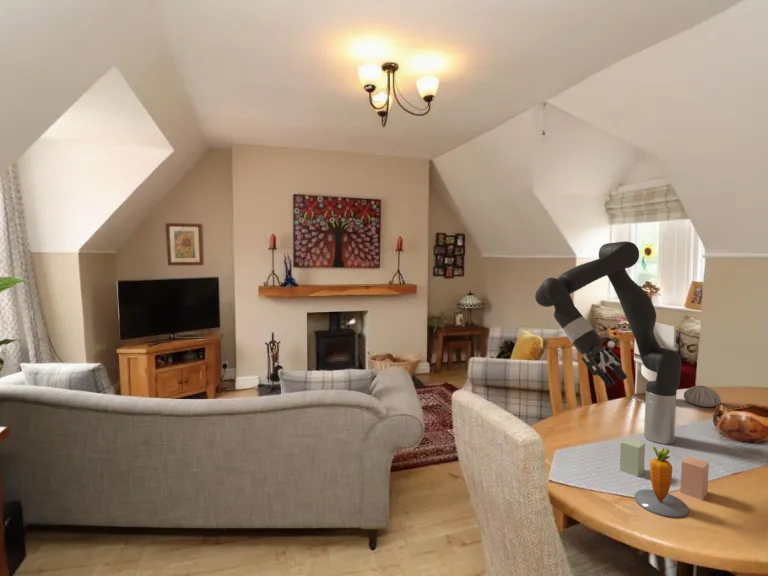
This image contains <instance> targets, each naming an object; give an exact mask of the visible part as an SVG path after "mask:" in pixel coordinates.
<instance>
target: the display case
mask: <svg viewBox="0 0 768 576" xmlns="http://www.w3.org/2000/svg"><path fill="white" fill-rule="evenodd" d="M654 335H655V338H656V340H657V342H658V344H659V346H660V347H662V348H666V349H670V350H673V351H676V342H677V339H676V338H677V326H675V325H674V326H673V325H670V324H665V323H659V322H655V326H654ZM633 351H634V353H633V360H634V361H635V384H634V387H635V388H634V393H632V399H634V400H637V401H639V403H643V404H644V405H645V401H646V384H647V382H649V381H656V377H657V372H654V371H651V370H649V369H647V368H646V367H645V366H644V364H643V363H642V360H641V357H640V354H639V350H638V346H637V343H636V340H635V339H634V349H633Z"/></svg>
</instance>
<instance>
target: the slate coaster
mask: <svg viewBox="0 0 768 576" xmlns="http://www.w3.org/2000/svg"><path fill="white" fill-rule="evenodd" d="M634 500H635V502H636V504H638V505H639V507H641V508H643V509H644V510H646V511H647V512H650V513H652V514H654V515H658V516H660V517H666V518H672V519H673V518H674V519H675V518H684V517H685V516H688V514H689V507H688V505H687V504H686V503H685V502H684V501H683V500H682V499H680V498H678V497H677V496H675V495H673V494H670V493H668V494H667V496H666V497H665V498H664V500H663V501H661V502H660V501H659V500H658V499H657V497H656V495H655V493H654V490H653V489H640V490H638V491H636V492H635V493H634Z"/></svg>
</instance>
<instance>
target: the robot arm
mask: <svg viewBox="0 0 768 576" xmlns="http://www.w3.org/2000/svg"><path fill="white" fill-rule="evenodd" d="M639 259H640V250H639V247H638V246H637V245H636V244H635V243H634V242H631V241H616V242H607V243H604V244H602V245H601V246H600V248H599V251H598V258H597V259H594V260H591V261H588V262H585V263H581V264H579V265H577V266H574V267H572V268H570V269H569V270H567V271H565V272H563V273H561V274H560V275H559V276H558V277H557V278H556V277H548V278H545V279H544V280H543V282H542V283H541V284H540V286H539V287H538V289H537V290H536V292H535V295H534V296H535V301H536V303H537V304H538V305H539V306H542V307H546V308H547V307H552V306H553V307H554V312H553V318H554V319H555V320H556V322H557V323H558V325H559V326H560V327H561V328H562V330H563V331H564V333H565V335H566V336H567V338H568V339H569V341H570V342H571V343H572V345H573V346H574V347H575V349H576V350H577V352H578V353H579V354H580V355H582V357H581V360H582V361H583V363H584V365H585V366H586V367H587V368H588V370H589V371H590V373H591V375H593V376H597V377H600V379H601V380H602V382H604V384H605V386H606V387H607V388H611V387H612V386H615V385H616V381H614V379H613V378H612V376H611V375H610V374H609V373H608V372H607V370H606V367H608V368H610V369H611V370H612V371H613V373H614V374H615V376H616V377H617V378H618V380H620V381H621V382H622V381H625V380H626V379H627V378H628V375H627V374H626V373H625V371H624V370H623V369H622V367H621V363H622V361H621V359H620V358H619V357H618V356H617V355H616V354H615V352H614V351H613V349H611V348H610V346H608V345H607V346H605V347H603V346H602V345H601V344H603V343H604V340H603V338H602V337H601V336H600V335H599V333H598V332H597V331H596V329H594V327H593V326H592V324H591V323H590V322H589V321H588V320H587V319H586V318H585V317H584V316H583V315H582V312H580V311H579V310H578V308H577V307H576V306H575V303H574V301H573V299H572V296H571V294H572V293H574V292H576V291H580V289H583V288H585V287H586V286H588V285H590V284H591V283H593V282H595V281H597V280H599V279H601V278H604V277H606V276H607V278H608V280H609V281H610V283H611V285H612V287H613V289H614V291H615V295H616V296H617V298H618V301H619V303H620V306H621V308H622V310H623V313H624V315H625V318H626V320H627V322H628V324H629V327H630V330H631V332H632V335H633V336H634V341H635V340H636V343H637V346H638V350H639V354H640V357H641V360H642V363H643V364H644V366H645V367H646V368H647V369H649V370H651V371H654V372H657V377H656V381H649V382H647V384H646V401H645V404H644V405H645V406H644V430H643V436H644V438H645V439H647V440H649V441H651V442H653V443H658V444H664V445H665V444H666V445H667V444H669V445H670V444H673V443H675V433H676V414H677V413H676V411H677V393H678V392H677V391H678V389H679V386H680V382H681V374H682V357H681V355H680V353H679V352H678V351H676V350H675V351H673V350H670V349H666V348H662V347H660V346H659V344H658V342H657V340H656V338H655V335H654V326H655V323H657V313H656V309H655V306H654V304H653V302H652V298H651V297H650V296H649V294H648V293H647V292H646V291H645V289H643V288H642V287H641V286H640V285H638V283H636V282H635V281H634V280H633V279H632V278H631V277H630V275H629V274H628V271H627V270H626V269H629V268H631V267H633V266H635V265H636V264H637V262H638V261H639Z"/></svg>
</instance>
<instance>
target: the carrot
mask: <svg viewBox="0 0 768 576" xmlns="http://www.w3.org/2000/svg"><path fill="white" fill-rule="evenodd" d="M652 449H653V450H654V453H655V455H656V457H655V458H653V459H651V460H650V463H649V467H650V471H649V472H650V482H651V486H652V490H654V493H655V495H656V497H657V499H658V500H659V501H660V502H661V501H663V500H664V498H665V497H666V496H667V494H669V491H670V488H671V484H672V479H673V466H672V463H671V462H670V461H669V460H668V459H669V458H671V457H670V456H669V455H668V454H669V453H670V449H669V448H664V447H662V448H661V449H660V450H659V451H658V450H657V447H656V446H652Z"/></svg>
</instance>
